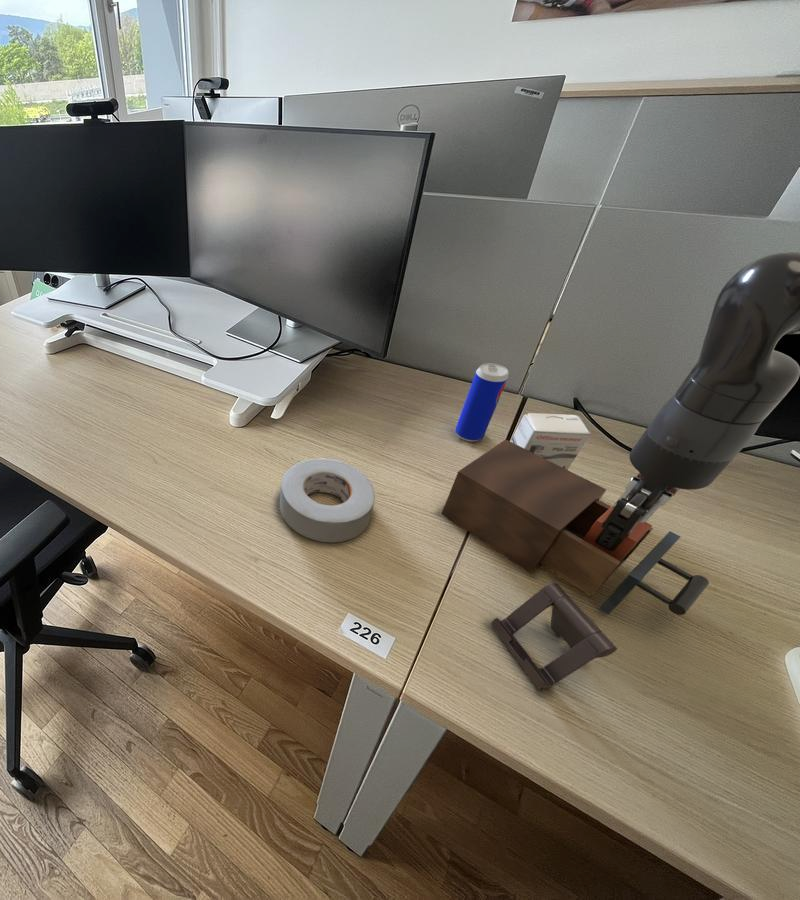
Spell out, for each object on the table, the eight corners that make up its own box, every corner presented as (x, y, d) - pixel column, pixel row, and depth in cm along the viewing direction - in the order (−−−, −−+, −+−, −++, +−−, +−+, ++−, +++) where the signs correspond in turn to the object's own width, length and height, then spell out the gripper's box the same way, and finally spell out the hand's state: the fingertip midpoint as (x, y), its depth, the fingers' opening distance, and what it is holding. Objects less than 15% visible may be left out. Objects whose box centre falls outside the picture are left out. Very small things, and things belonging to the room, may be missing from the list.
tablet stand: (487, 625, 62) (509, 590, 57) (539, 613, 63) (566, 577, 58) (536, 691, 56) (566, 659, 50) (593, 677, 57) (630, 643, 51)
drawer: (691, 596, 63) (730, 561, 57) (653, 644, 58) (691, 611, 53) (548, 514, 75) (569, 479, 70) (507, 549, 70) (527, 514, 65)
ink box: (507, 482, 82) (534, 429, 75) (498, 463, 86) (522, 411, 78) (561, 485, 81) (594, 432, 73) (549, 466, 85) (579, 413, 77)
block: (634, 547, 63) (652, 525, 60) (618, 563, 61) (636, 541, 58) (597, 526, 66) (613, 505, 63) (581, 541, 64) (596, 520, 61)
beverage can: (484, 444, 90) (512, 378, 81) (455, 441, 92) (480, 375, 82) (480, 428, 94) (507, 363, 84) (453, 425, 95) (476, 361, 86)
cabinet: (575, 533, 73) (606, 489, 67) (531, 573, 68) (560, 530, 62) (486, 481, 83) (505, 439, 76) (441, 513, 78) (458, 471, 71)
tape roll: (374, 488, 83) (380, 467, 80) (364, 553, 73) (369, 532, 69) (290, 470, 88) (292, 450, 85) (269, 529, 78) (270, 508, 74)
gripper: (708, 484, 46) (620, 582, 57) (760, 429, 52) (671, 528, 63) (622, 446, 51) (556, 543, 62) (677, 400, 57) (608, 497, 68)
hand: (614, 535), depth 62 cm, fingers open, 5 cm apart
